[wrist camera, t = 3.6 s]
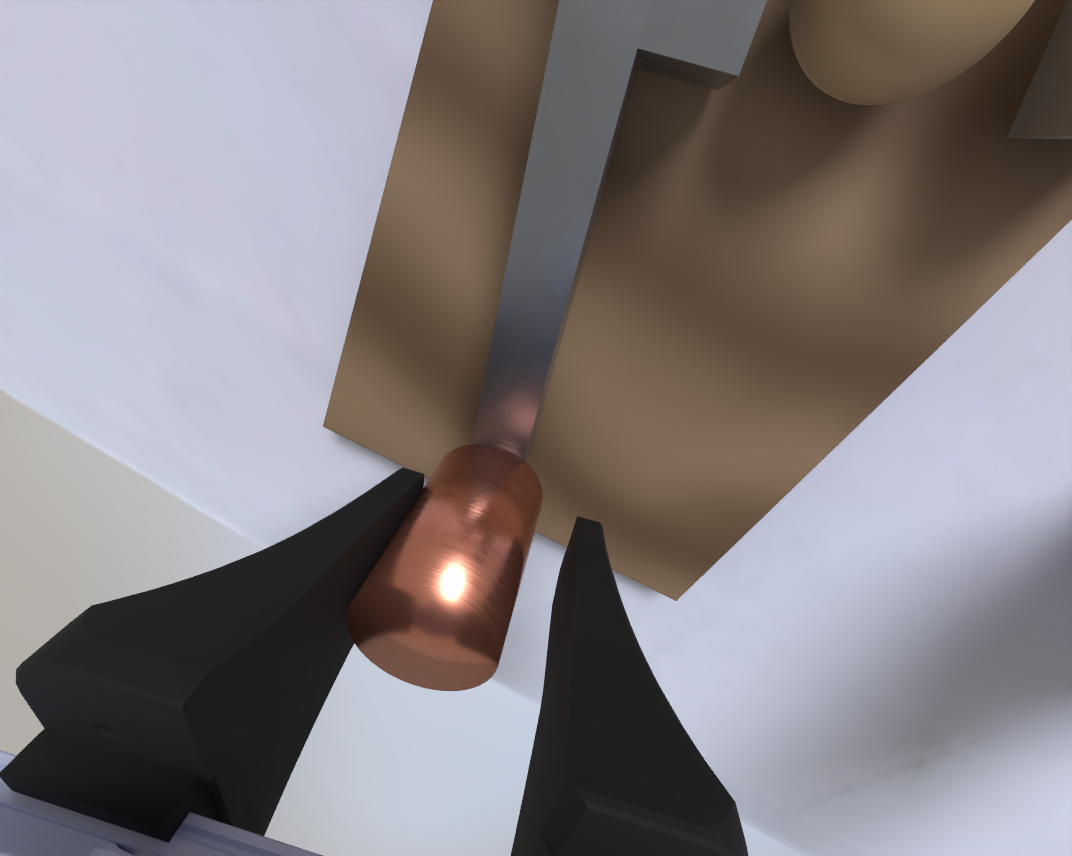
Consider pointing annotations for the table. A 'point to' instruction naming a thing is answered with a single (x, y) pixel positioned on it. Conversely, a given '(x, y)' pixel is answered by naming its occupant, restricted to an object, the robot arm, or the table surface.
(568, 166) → the lever
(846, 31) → the walnut
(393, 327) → the board
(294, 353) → the table surface
